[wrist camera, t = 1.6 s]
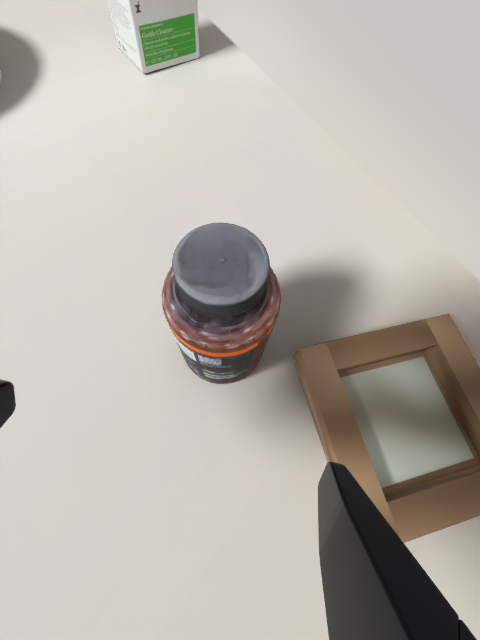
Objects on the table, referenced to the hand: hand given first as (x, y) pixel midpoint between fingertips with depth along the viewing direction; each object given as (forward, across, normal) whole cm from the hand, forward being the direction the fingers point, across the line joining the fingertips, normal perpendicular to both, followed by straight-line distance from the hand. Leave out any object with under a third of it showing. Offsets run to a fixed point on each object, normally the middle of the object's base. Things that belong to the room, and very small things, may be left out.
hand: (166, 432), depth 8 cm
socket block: (+12, -13, +6) cm, 19 cm away
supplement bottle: (+14, 0, +4) cm, 14 cm away
